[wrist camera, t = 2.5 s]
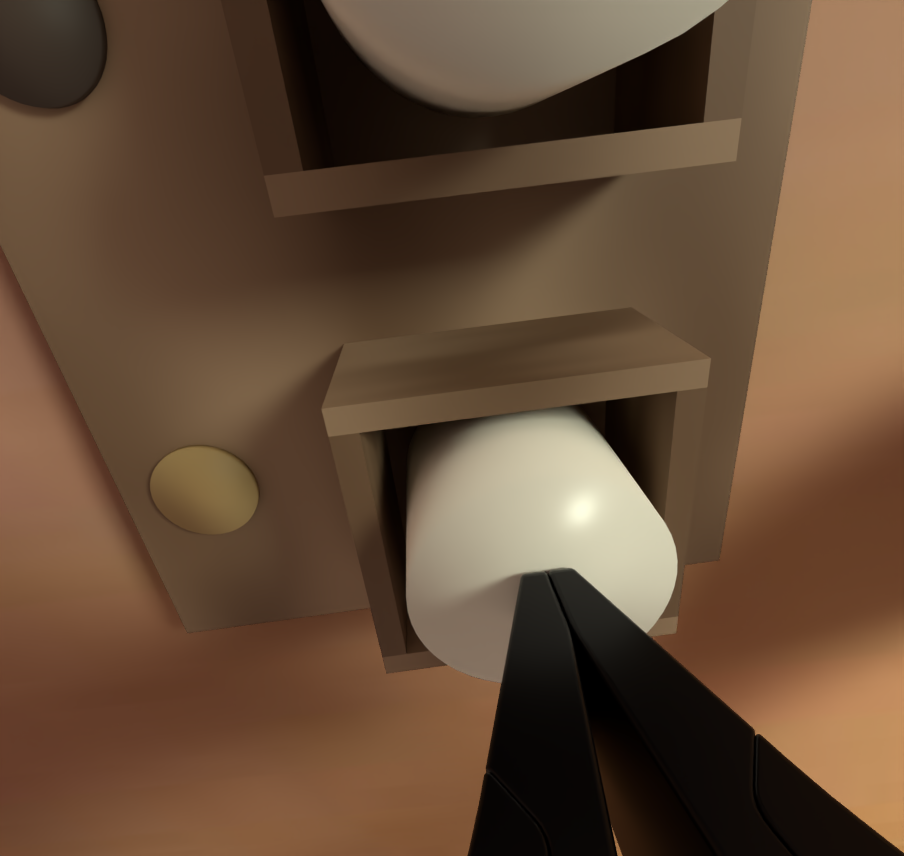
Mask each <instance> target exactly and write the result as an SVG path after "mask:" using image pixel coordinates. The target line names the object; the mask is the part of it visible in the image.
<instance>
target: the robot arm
mask: <svg viewBox="0 0 904 856" xmlns="http://www.w3.org/2000/svg"><path fill="white" fill-rule="evenodd" d="M611 825H612V827H611ZM612 828H613V830H614V833H615V836H616V839H617V841H618V844H619V847H620V850H621V853H622V855H623V856H904V853H903V852H902V851H901V850H899V849H898V848H897V847H895V846H894V845H893V844H891V843H890V842H889V841H887V840H886V839H885V838H884V837H882V836H881V835H880V834H879V833H877V832H876V831H875V830H873V829H872V828H871V827H870V826H868V825H867V824H866V823H865V822H863V821H862V820H861V819H860V818H858V817H857V816H856V815H855V814H853V813H852V812H851V811H849V810H848V809H847V808H846V807H844V806H843V805H842V804H841V803H839V802H838V801H837V800H836V799H834V798H833V797H832V796H831V795H829V794H828V793H827V792H826V791H825V790H824V789H822V788H821V787H820V786H819V785H818V784H817V783H815V782H814V781H813V780H812V779H811V778H810V777H808V776H807V775H806V774H805V773H804V772H803V771H801V770H800V769H799V768H798V767H797V766H795V765H794V764H793V763H792V762H791V761H790V760H788V759H787V758H786V757H785V756H784V755H783V754H782V753H781V752H779V751H778V750H777V749H776V748H775V747H774V746H773V745H772V744H770V743H769V742H768V741H767V740H766V739H765V738H764V737H763V736H761V735H760V734H757V735H756V736H755V730H754V729H753V728H752V727H751V726H750V725H749V724H748V723H747V722H745V721H744V720H743V719H742V718H741V717H740V716H739V715H738V714H736V713H735V712H734V711H733V710H732V709H731V708H730V707H729V706H727V705H726V704H725V703H724V702H723V701H722V700H721V699H720V698H719V697H717V696H716V695H715V694H714V693H713V692H712V691H711V690H710V689H708V688H707V687H706V686H705V685H704V684H703V683H702V682H701V681H699V680H698V679H697V678H696V677H695V676H694V675H693V674H692V673H690V672H689V671H688V670H687V669H686V668H685V667H684V666H683V665H681V664H680V663H679V662H678V661H677V660H676V659H675V658H674V657H672V656H671V655H670V654H669V653H668V652H667V651H666V650H665V649H663V648H662V647H661V646H660V645H659V644H658V643H657V642H656V641H654V640H653V639H652V638H651V637H650V636H649V635H648V634H647V633H646V632H644V631H643V630H642V629H641V628H640V627H639V626H638V625H637V624H635V623H634V622H633V621H632V620H631V619H630V618H629V617H628V616H626V615H625V614H624V613H623V612H622V611H621V610H620V609H619V608H617V607H616V606H615V605H614V604H613V603H612V602H611V601H610V600H608V599H607V598H606V597H605V596H604V595H603V594H602V593H601V592H599V591H598V590H597V589H596V588H595V587H594V586H593V585H592V584H590V583H589V582H588V581H587V580H586V579H585V578H584V577H583V576H581V575H580V574H579V573H578V572H577V571H576V570H575V569H572V568H564V569H557V570H551V571H549V572H548V574H547V573H546V572H535V573H527V574H523V575H522V576H521V579H520V584H519V589H518V595H517V600H516V606H515V611H514V617H513V622H512V628H511V633H510V639H509V644H508V650H507V655H506V661H505V666H504V672H503V677H502V683H501V688H500V694H499V699H498V704H497V710H496V715H495V721H494V726H493V732H492V737H491V743H490V748H489V754H488V759H487V765H486V774H485V775H484V779H483V785H482V790H481V796H480V801H479V806H478V811H477V815H476V820H475V825H474V829H473V834H472V839H471V843H470V848H469V852H468V856H617V851H616V846H615V841H614V836H613V832H612Z"/></svg>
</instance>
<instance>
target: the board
mask: <svg viewBox="0 0 904 856" xmlns="http://www.w3.org/2000/svg"><path fill="white" fill-rule="evenodd" d="M811 4H812V0H728V1H727V2H726V3H725V4H723V5H722V6H721V7H720V8H719V9H717V10H716V11H714V12H713V13H712V14H710V15H709V16H707V17H706V18H704V19H703V20H702V21H700V22H699V23H697V24H696V25H694V26H693V27H692V28H690V29H689V30H687V31H686V32H684V33H683V34H681V35H679V36H677V37H675V38H673V39H671V40H670V41H668V42H666V43H664V44H662V45H660V46H658V47H656V48H654V49H652V50H651V51H649V52H647V53H645V54H643V55H640V56H638V57H636V58H634V59H632V60H629V61H627V62H625V63H623V64H621V65H619V66H616V67H614V68H612V69H610V70H608V71H606V72H603V73H601V74H599V75H597V76H595V77H593V78H590V79H588V80H586V81H584V82H582V83H579V84H577V85H575V86H573V87H571V88H569V89H566V90H564V91H562V92H560V93H558V94H556V95H553V96H551V97H549V98H547V99H545V100H542V101H540V102H538V103H536V104H534V105H532V106H529V107H526V108H523V109H521V110H518V111H515V112H512V113H508V114H503V115H498V116H493V117H474V118H470V117H461V116H452V115H448V114H444V113H440V112H437V111H433V110H430V109H428V108H425V107H423V106H421V105H418V104H416V103H414V102H411V101H410V100H408V99H406V98H405V97H403V96H402V95H400V94H398V93H397V92H395V91H393V90H392V89H391V88H389V87H388V86H387V85H386V84H384V83H383V82H382V81H381V80H380V79H378V78H377V77H376V76H375V75H374V74H373V73H372V72H371V71H370V70H369V69H368V68H367V67H366V66H365V65H364V64H363V63H362V62H361V61H360V60H359V59H358V58H357V56H356V55H355V54H354V52H353V51H352V50H351V48H350V47H349V46H348V44H347V43H346V42H345V41H344V39H343V38H342V36H341V35H340V33H339V31H338V30H337V28H336V26H335V25H334V23H333V21H332V20H331V18H330V16H329V14H328V13H327V11H326V9H325V7H324V5H323V3H322V1H321V0H0V246H1V248H2V250H3V252H4V254H5V256H6V258H7V260H8V262H9V264H10V266H11V268H12V270H13V273H14V275H15V277H16V279H17V281H18V283H19V285H20V287H21V289H22V291H23V293H24V295H25V297H26V299H27V302H28V304H29V306H30V308H31V310H32V312H33V314H34V316H35V318H36V320H37V322H38V324H39V326H40V329H41V331H42V333H43V335H44V337H45V339H46V341H47V343H48V345H49V347H50V349H51V351H52V353H53V355H54V358H55V360H56V362H57V364H58V366H59V368H60V370H61V372H62V374H63V376H64V378H65V380H66V382H67V384H68V387H69V389H70V391H71V393H72V395H73V397H74V399H75V401H76V403H77V405H78V407H79V409H80V411H81V413H82V416H83V418H84V420H85V422H86V424H87V426H88V428H89V430H90V432H91V434H92V436H93V438H94V440H95V443H96V445H97V447H98V449H99V451H100V453H101V455H102V457H103V459H104V461H105V463H106V465H107V467H108V469H109V472H110V474H111V476H112V478H113V480H114V482H115V484H116V486H117V488H118V490H119V492H120V494H121V496H122V498H123V501H124V503H125V505H126V507H127V509H128V511H129V513H130V515H131V517H132V519H133V521H134V523H135V525H136V527H137V530H138V532H139V534H140V536H141V538H142V540H143V542H144V544H145V546H146V548H147V550H148V552H149V554H150V557H151V559H152V561H153V563H154V565H155V567H156V569H157V571H158V573H159V575H160V577H161V579H162V581H163V583H164V586H165V588H166V590H167V592H168V594H169V596H170V598H171V600H172V602H173V604H174V606H175V608H176V610H177V612H178V615H179V617H180V619H181V621H182V623H183V625H184V627H185V629H186V631H187V633H192V632H200V631H207V630H214V629H222V628H229V627H236V626H243V625H251V624H258V623H265V622H273V621H280V620H287V619H295V618H302V617H309V616H316V615H324V614H331V613H338V612H346V611H353V610H360V609H368V608H371V612H372V616H373V621H374V625H375V629H376V633H377V637H378V641H379V645H380V649H381V653H382V657H383V661H384V665H385V669H386V673H394V672H402V671H409V670H416V669H423V668H430V667H437V666H445V665H447V664H445V663H444V662H442V661H441V660H440V659H438V658H437V657H436V656H434V655H433V654H432V653H431V652H430V651H429V650H428V649H427V648H426V647H425V645H424V644H423V643H422V641H421V640H420V639H419V637H418V636H417V634H416V632H415V630H414V628H413V626H412V624H411V621H410V618H409V614H408V611H407V602H406V466H407V454H408V449H409V444H410V442H411V439H412V436H413V434H414V432H415V430H416V428H417V426H418V425H423V424H431V423H438V422H446V421H454V420H461V419H469V418H477V417H484V416H492V415H499V414H507V413H515V412H522V411H530V410H538V409H545V408H553V407H561V406H568V405H576V404H580V405H581V406H582V408H583V409H584V410H585V412H586V413H587V414H588V416H589V417H590V419H591V420H592V421H593V423H594V424H595V426H596V427H597V428H598V430H599V431H600V433H601V434H602V435H603V437H604V438H605V440H606V441H607V442H608V444H609V445H610V447H611V448H612V449H613V451H614V452H615V454H616V455H617V456H618V458H619V459H620V461H621V462H622V463H623V465H624V466H625V467H626V469H627V470H628V472H629V473H630V474H631V476H632V477H633V479H634V480H635V481H636V483H637V484H638V486H639V487H640V488H641V490H642V491H643V493H644V494H645V495H646V497H647V498H648V500H649V501H650V502H651V504H652V505H653V507H654V508H655V509H656V511H657V512H658V514H659V515H660V516H661V518H662V519H663V521H664V522H665V524H666V526H667V527H668V529H669V531H670V533H671V535H672V538H673V541H674V544H675V547H676V553H677V560H678V561H677V577H676V582H675V587H674V590H673V592H672V595H671V598H670V600H669V602H668V604H667V606H666V608H665V610H664V612H663V613H662V615H661V616H660V617H659V619H658V620H657V622H656V623H655V624H654V626H653V627H652V628H651V629H650V630H649V631H648V632H647V634H648V635H649V636H650V637H653V636H660V635H667V634H674V633H676V630H677V622H678V614H679V606H680V598H681V590H682V582H683V575H684V567H685V565H689V564H696V563H703V562H711V561H718V560H719V558H720V552H721V546H722V540H723V534H724V528H725V522H726V516H727V510H728V504H729V498H730V492H731V486H732V480H733V474H734V468H735V462H736V456H737V450H738V444H739V438H740V432H741V426H742V420H743V414H744V408H745V402H746V396H747V390H748V384H749V378H750V372H751V366H752V360H753V354H754V348H755V342H756V336H757V330H758V324H759V317H760V311H761V305H762V299H763V293H764V287H765V281H766V275H767V269H768V263H769V257H770V251H771V245H772V239H773V233H774V227H775V221H776V215H777V209H778V203H779V197H780V191H781V185H782V179H783V173H784V167H785V161H786V155H787V149H788V143H789V137H790V131H791V125H792V119H793V113H794V107H795V101H796V95H797V89H798V83H799V77H800V71H801V65H802V59H803V53H804V47H805V40H806V34H807V28H808V22H809V16H810V10H811Z"/></svg>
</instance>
